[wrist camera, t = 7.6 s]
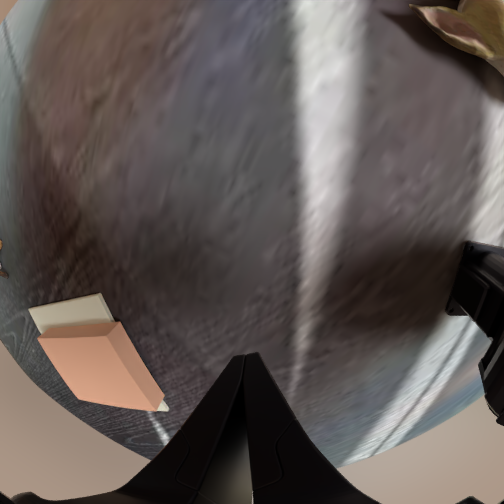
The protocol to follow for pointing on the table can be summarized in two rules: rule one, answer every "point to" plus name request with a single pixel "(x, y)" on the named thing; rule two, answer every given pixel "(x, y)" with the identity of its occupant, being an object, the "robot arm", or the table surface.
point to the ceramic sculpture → (470, 27)
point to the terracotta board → (102, 365)
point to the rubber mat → (75, 316)
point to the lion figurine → (0, 264)
